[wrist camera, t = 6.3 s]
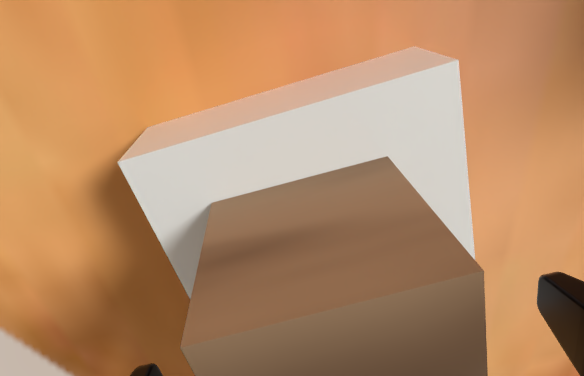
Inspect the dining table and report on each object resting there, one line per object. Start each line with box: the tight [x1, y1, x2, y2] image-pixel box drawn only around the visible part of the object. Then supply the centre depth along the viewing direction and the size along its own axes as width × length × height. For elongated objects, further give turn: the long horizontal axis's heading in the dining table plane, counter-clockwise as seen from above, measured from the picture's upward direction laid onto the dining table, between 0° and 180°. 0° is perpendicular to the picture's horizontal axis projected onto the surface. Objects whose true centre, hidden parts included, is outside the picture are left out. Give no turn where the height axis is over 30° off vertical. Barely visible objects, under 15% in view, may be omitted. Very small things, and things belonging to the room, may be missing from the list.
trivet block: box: [118, 46, 475, 299], centre depth 13 cm, size 9×9×4 cm
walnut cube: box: [180, 156, 488, 376], centre depth 10 cm, size 5×5×5 cm
